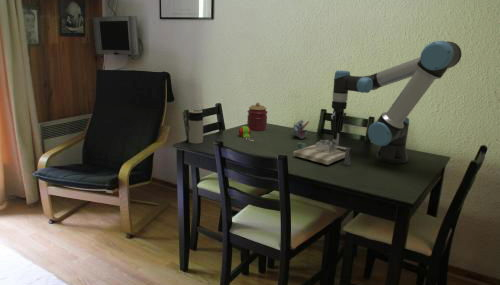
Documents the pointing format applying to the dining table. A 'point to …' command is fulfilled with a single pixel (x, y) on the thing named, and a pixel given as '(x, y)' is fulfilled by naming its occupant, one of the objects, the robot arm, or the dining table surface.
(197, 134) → the travel mug
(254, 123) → the canister
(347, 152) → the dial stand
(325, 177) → the dining table surface
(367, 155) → the dining table surface
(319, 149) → the cover
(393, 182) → the dining table surface
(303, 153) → the patterned tray
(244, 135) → the toy measuring tape
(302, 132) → the toy figurine
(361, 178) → the dining table surface
